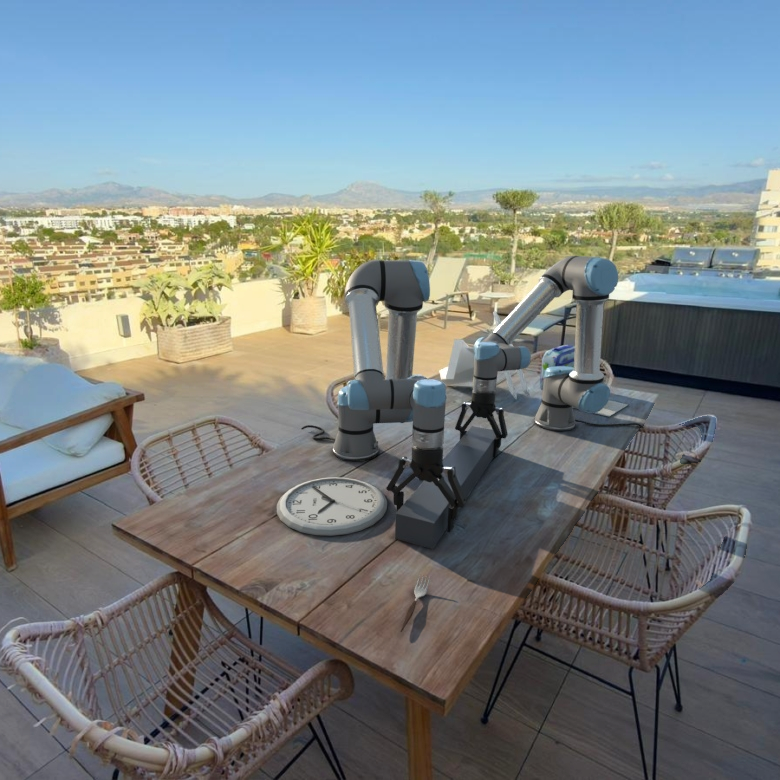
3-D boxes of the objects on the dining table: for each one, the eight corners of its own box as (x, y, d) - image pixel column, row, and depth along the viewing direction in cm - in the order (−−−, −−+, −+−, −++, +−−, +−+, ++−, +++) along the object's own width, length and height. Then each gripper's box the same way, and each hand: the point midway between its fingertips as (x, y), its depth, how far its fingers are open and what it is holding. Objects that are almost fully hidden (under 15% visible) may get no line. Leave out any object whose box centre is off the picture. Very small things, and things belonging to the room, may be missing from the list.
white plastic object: (461, 429, 252) (437, 405, 227) (444, 352, 274) (420, 323, 250) (535, 404, 240) (518, 377, 215) (510, 326, 262) (492, 293, 237)
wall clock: (392, 527, 129) (268, 531, 127) (391, 533, 130) (269, 537, 127) (383, 473, 158) (282, 475, 155) (383, 478, 158) (282, 480, 156)
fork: (394, 632, 98) (394, 623, 98) (419, 581, 113) (419, 573, 112) (407, 636, 97) (407, 627, 97) (430, 584, 112) (431, 576, 111)
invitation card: (608, 416, 214) (573, 407, 224) (608, 416, 214) (573, 408, 224) (628, 404, 229) (594, 396, 238) (628, 405, 229) (594, 397, 238)
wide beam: (470, 444, 184) (471, 426, 182) (498, 449, 180) (500, 430, 178) (394, 538, 128) (395, 513, 126) (433, 549, 124) (434, 523, 122)
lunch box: (556, 397, 237) (562, 352, 231) (535, 392, 244) (540, 348, 238) (583, 386, 255) (589, 344, 248) (562, 381, 262) (567, 340, 256)
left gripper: (373, 440, 127) (373, 518, 133) (473, 460, 117) (468, 542, 123) (387, 430, 133) (386, 505, 139) (482, 448, 123) (477, 527, 129)
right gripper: (447, 388, 171) (443, 450, 178) (516, 398, 162) (510, 463, 169) (454, 382, 178) (450, 442, 184) (521, 391, 169) (515, 455, 175)
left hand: (424, 523), depth 131 cm, fingers open, 13 cm apart
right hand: (479, 452), depth 176 cm, fingers closed on wide beam, 10 cm apart
